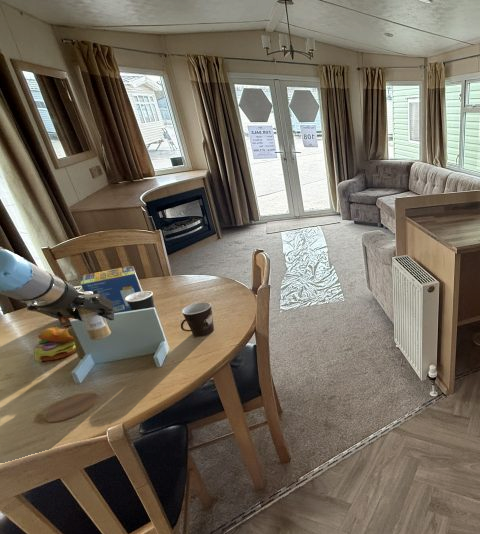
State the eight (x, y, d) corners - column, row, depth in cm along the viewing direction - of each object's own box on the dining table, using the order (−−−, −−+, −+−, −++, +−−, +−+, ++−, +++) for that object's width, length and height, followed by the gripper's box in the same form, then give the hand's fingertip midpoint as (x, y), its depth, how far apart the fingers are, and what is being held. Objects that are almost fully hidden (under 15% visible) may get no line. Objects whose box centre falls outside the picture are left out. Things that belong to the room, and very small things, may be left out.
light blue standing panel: (76, 384, 97) (52, 338, 91) (92, 363, 106) (71, 319, 99) (161, 366, 105) (144, 323, 99) (169, 348, 113) (154, 307, 107)
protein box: (96, 310, 134) (80, 275, 128) (145, 298, 144) (133, 265, 138) (95, 321, 127) (79, 284, 121) (147, 308, 137) (135, 273, 131)
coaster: (37, 413, 88) (36, 412, 87) (87, 388, 96) (86, 387, 96) (54, 428, 84) (53, 427, 83) (105, 401, 92) (104, 400, 92)
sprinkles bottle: (113, 329, 99) (96, 289, 94) (109, 337, 96) (91, 296, 91) (92, 334, 97) (73, 293, 92) (87, 342, 94) (68, 300, 88)
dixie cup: (149, 314, 132) (140, 289, 128) (166, 317, 131) (158, 292, 127) (129, 325, 125) (118, 299, 121) (146, 328, 124) (136, 302, 119)
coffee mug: (209, 322, 128) (202, 299, 124) (222, 329, 124) (216, 306, 120) (175, 338, 119) (166, 313, 115) (188, 345, 115) (180, 320, 111)
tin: (74, 327, 123) (64, 307, 120) (61, 330, 121) (51, 310, 118) (72, 312, 133) (63, 293, 129) (60, 315, 130) (51, 296, 127)
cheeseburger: (28, 358, 107) (25, 328, 105) (74, 347, 117) (72, 319, 115) (42, 367, 103) (39, 336, 101) (89, 355, 113) (87, 326, 111)
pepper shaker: (73, 360, 107) (58, 331, 102) (88, 348, 112) (74, 320, 108) (94, 358, 108) (81, 329, 103) (108, 347, 113) (96, 319, 109)
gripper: (-11, 314, 73) (60, 336, 94) (93, 300, 80) (138, 323, 100) (-6, 282, 76) (62, 310, 96) (94, 271, 82) (138, 300, 103)
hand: (101, 317), depth 98 cm, fingers closed on sprinkles bottle, 4 cm apart
